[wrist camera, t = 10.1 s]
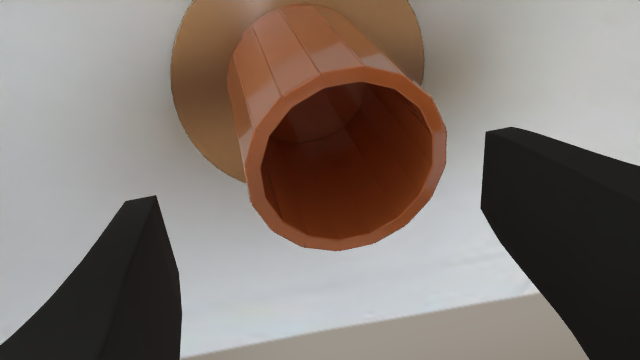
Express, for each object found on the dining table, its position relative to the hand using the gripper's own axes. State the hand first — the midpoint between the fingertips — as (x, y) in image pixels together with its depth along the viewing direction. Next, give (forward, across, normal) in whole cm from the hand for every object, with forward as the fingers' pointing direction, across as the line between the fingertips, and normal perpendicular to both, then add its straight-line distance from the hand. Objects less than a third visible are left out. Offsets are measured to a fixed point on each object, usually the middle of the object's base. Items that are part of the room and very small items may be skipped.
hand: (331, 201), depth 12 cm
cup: (+8, -1, 0) cm, 9 cm away
